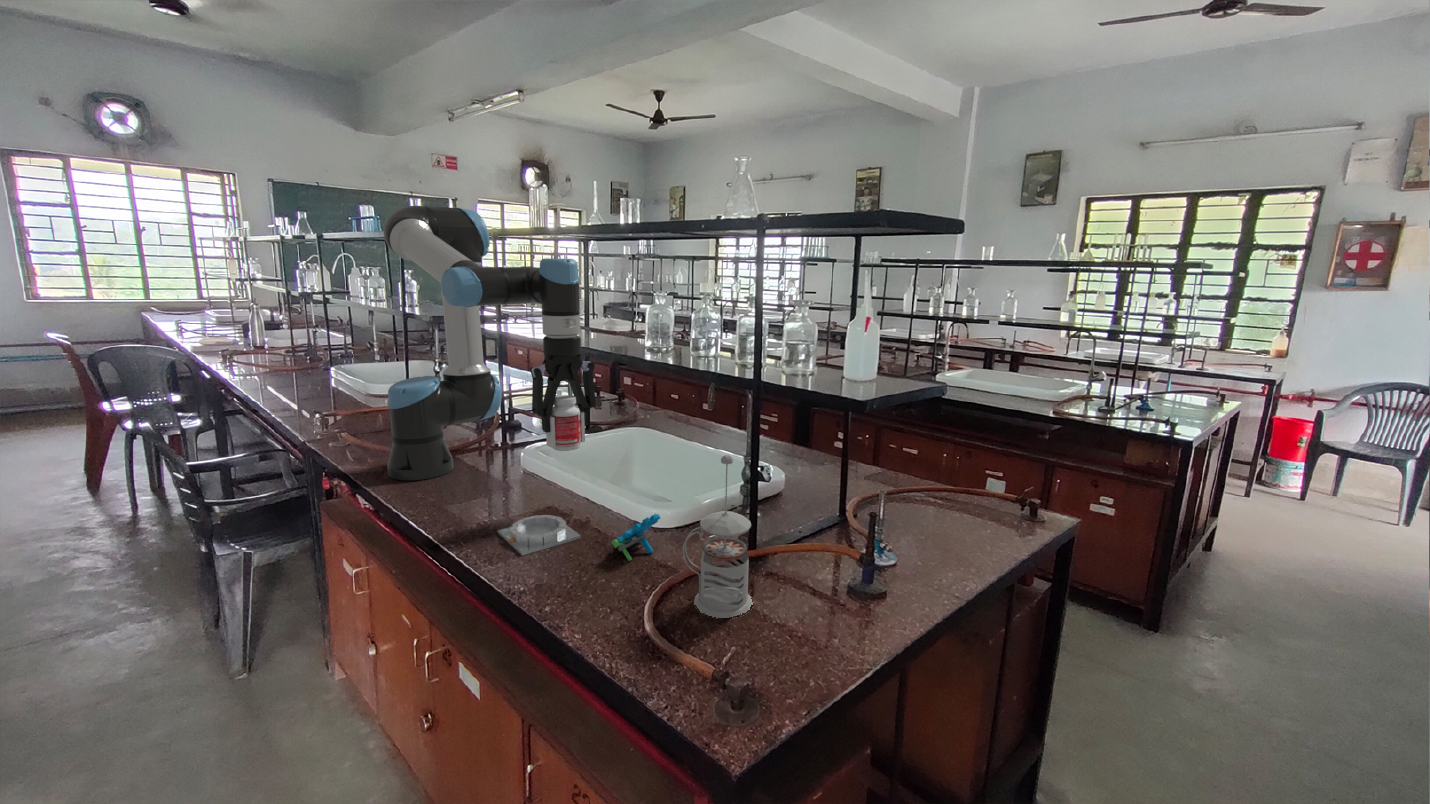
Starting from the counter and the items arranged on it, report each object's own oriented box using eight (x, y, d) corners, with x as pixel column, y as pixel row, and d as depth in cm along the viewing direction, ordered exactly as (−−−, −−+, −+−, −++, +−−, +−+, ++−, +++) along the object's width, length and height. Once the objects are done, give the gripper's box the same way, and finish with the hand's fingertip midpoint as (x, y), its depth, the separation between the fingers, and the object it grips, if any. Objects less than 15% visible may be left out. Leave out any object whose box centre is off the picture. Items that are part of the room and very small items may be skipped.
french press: (750, 622, 96) (755, 468, 90) (676, 614, 98) (677, 462, 92) (756, 589, 105) (762, 447, 100) (689, 582, 107) (690, 443, 101)
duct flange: (497, 533, 124) (497, 523, 124) (554, 518, 132) (553, 508, 131) (521, 555, 115) (521, 545, 115) (580, 538, 123) (580, 528, 122)
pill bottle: (585, 449, 133) (584, 398, 130) (557, 453, 130) (555, 401, 127) (574, 441, 138) (572, 392, 135) (547, 446, 134) (545, 395, 132)
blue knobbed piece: (644, 525, 125) (664, 504, 118) (660, 550, 124) (681, 530, 117) (599, 550, 118) (618, 529, 111) (616, 577, 117) (636, 557, 110)
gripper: (525, 341, 119) (531, 456, 125) (611, 334, 131) (614, 439, 137) (509, 336, 125) (515, 447, 130) (594, 330, 137) (596, 432, 142)
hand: (566, 443), depth 133 cm, fingers closed on pill bottle, 6 cm apart
